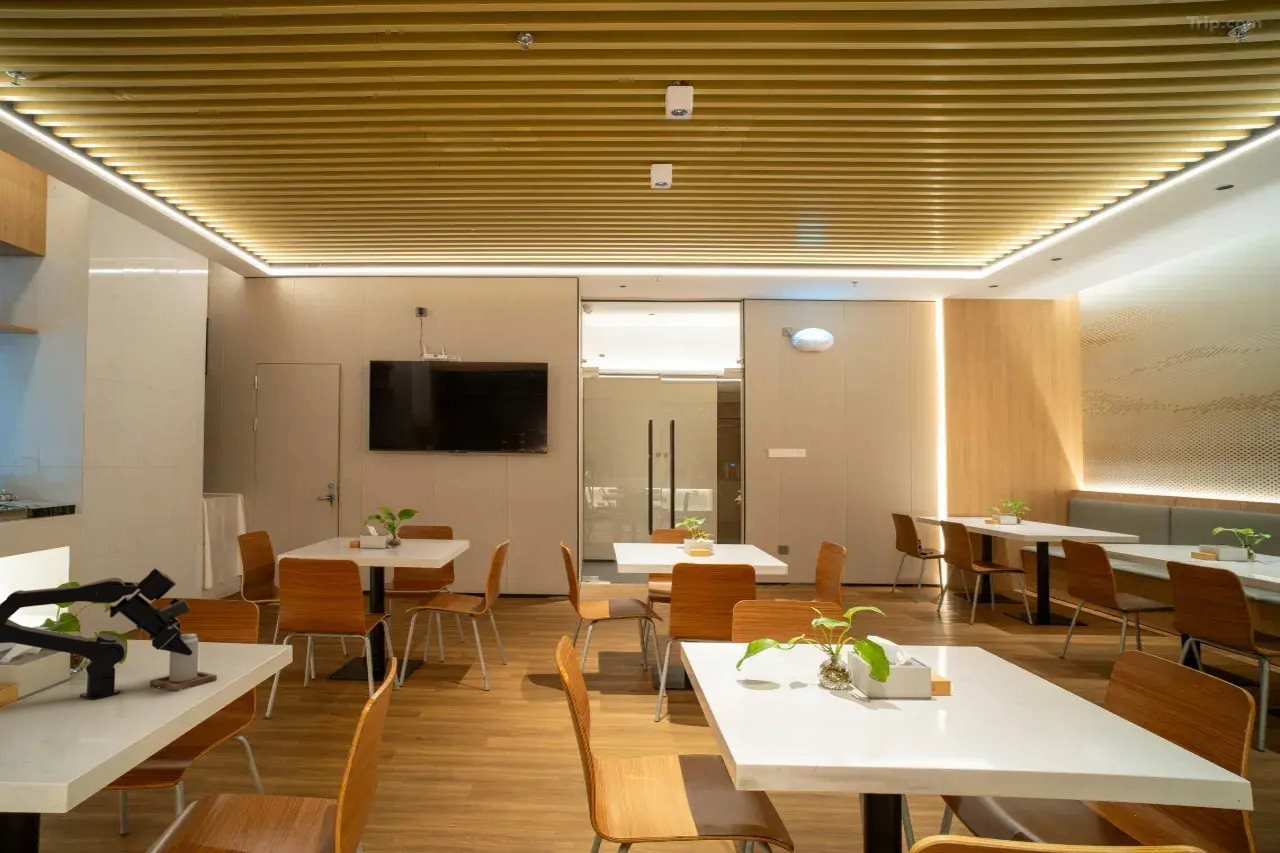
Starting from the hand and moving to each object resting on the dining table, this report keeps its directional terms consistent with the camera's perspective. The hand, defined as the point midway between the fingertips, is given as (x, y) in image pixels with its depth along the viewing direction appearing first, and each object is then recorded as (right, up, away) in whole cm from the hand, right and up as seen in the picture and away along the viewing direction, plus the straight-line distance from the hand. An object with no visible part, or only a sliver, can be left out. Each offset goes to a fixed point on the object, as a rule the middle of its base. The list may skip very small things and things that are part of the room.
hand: (190, 651), depth 193 cm
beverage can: (-1, -8, -1) cm, 8 cm away
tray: (-1, -8, -1) cm, 8 cm away
